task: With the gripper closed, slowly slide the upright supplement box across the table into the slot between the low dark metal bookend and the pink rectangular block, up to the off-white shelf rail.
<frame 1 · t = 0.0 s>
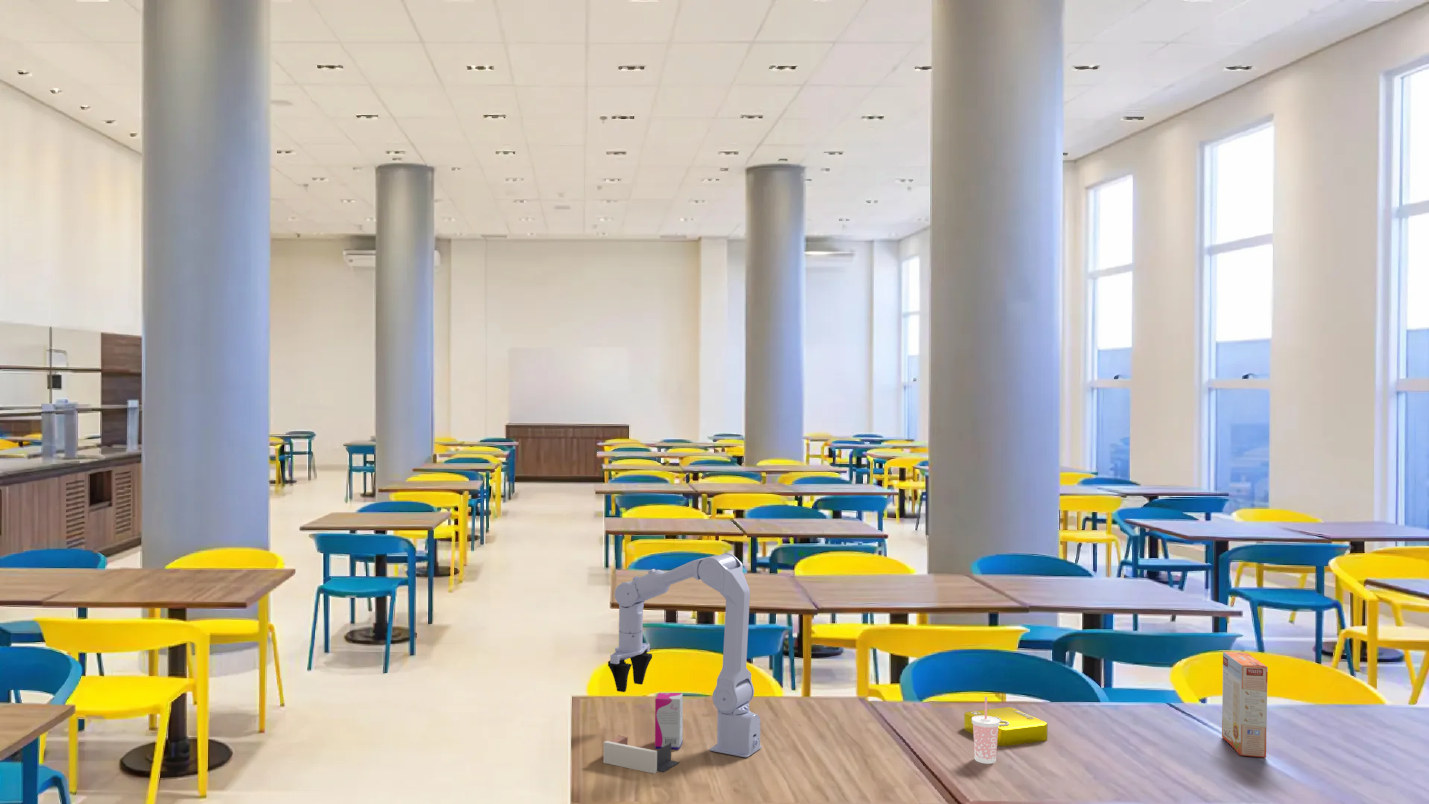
hand: (630, 687, 240), 10 cm above the table, tool pointing down, fingers open, 7 cm apart
cracker box: (1243, 748, 232), on the table
bookend: (666, 757, 215), on the table
beverage cup: (985, 760, 222), on the table
pink rectangular block: (615, 748, 221), on the table
supplement box: (668, 746, 229), on the table
shelf wall: (629, 756, 214), on the table
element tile: (1005, 736, 240), on the table
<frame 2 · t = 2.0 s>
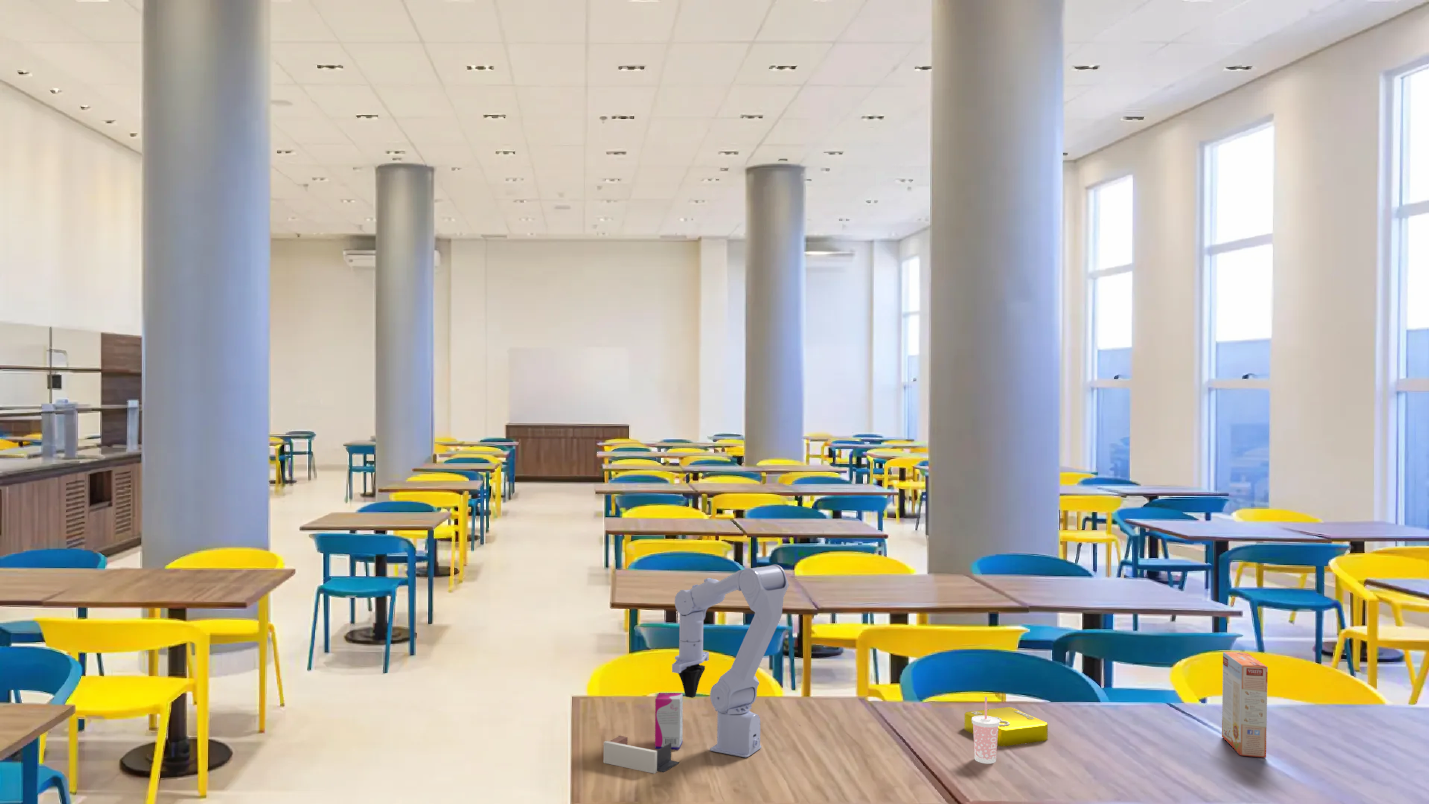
hand: (690, 696, 238), 9 cm above the table, tool pointing down, fingers closed
nothing on the table moved.
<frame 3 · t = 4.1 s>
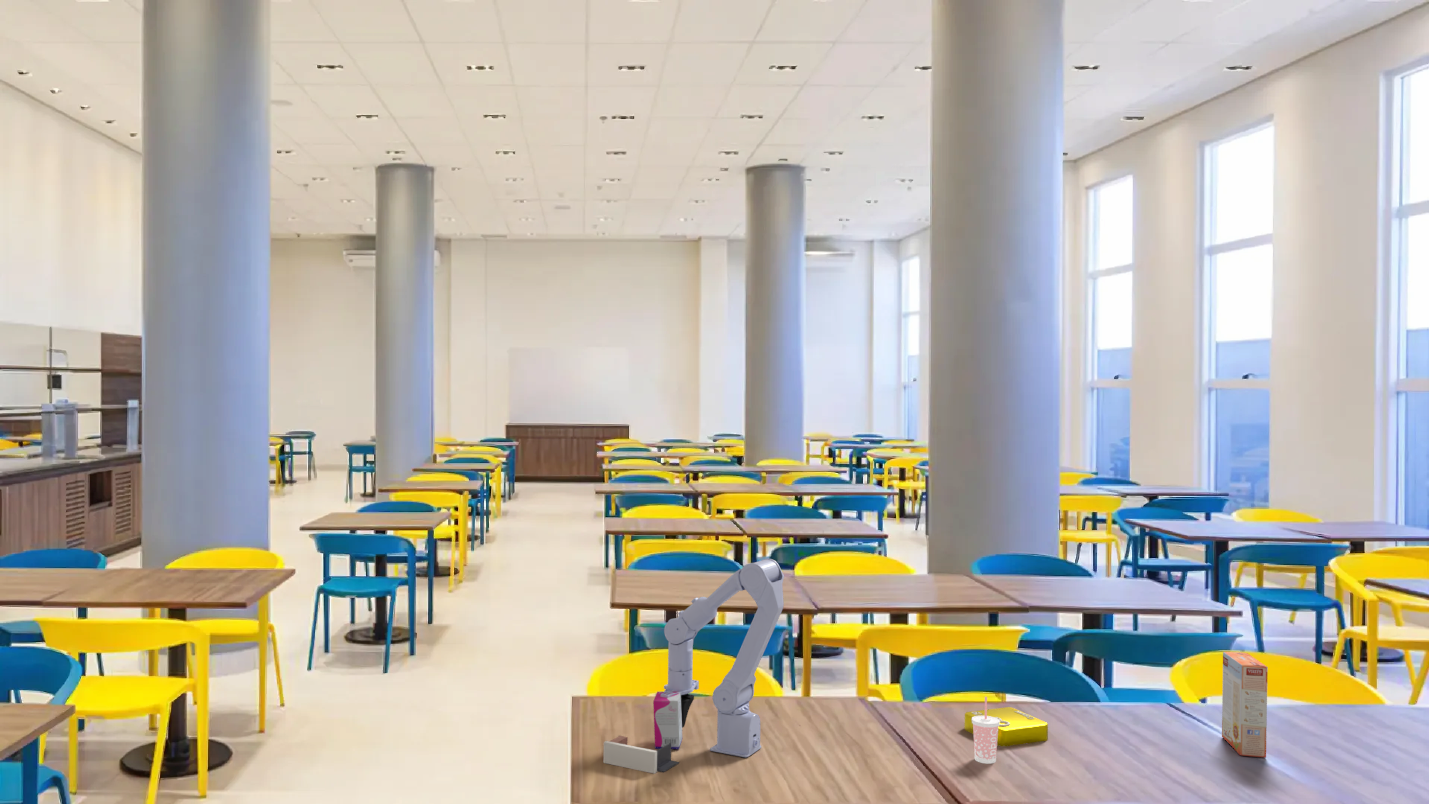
hand: (679, 726, 233), 3 cm above the table, tool pointing down, fingers closed
supplement box: (668, 744, 229), on the table, touching gripper
everything else where it was.
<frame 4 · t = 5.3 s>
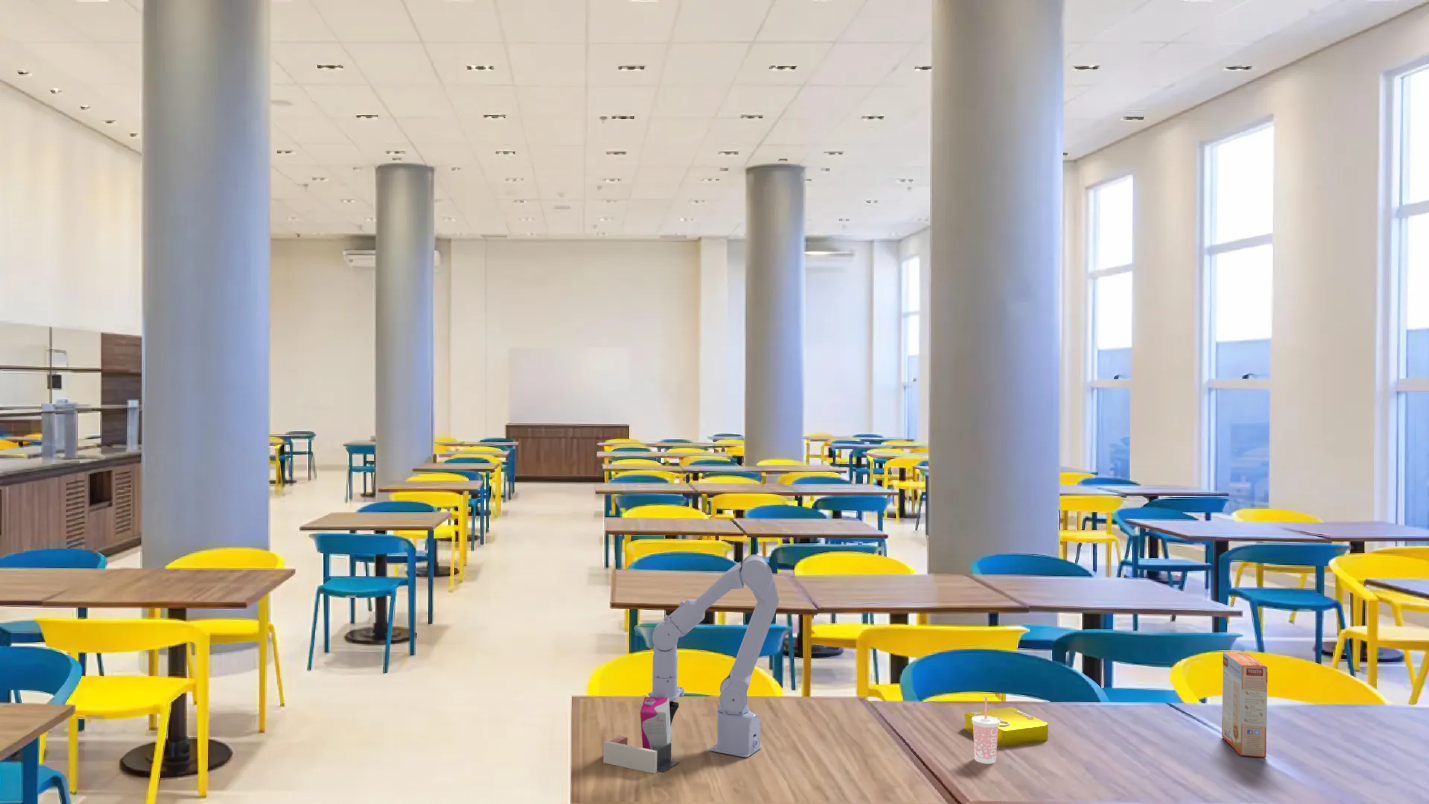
hand: (664, 734, 227), 3 cm above the table, tool pointing down, fingers closed, pressing on supplement box
supplement box: (657, 747, 224), point 1 cm above the table, touching gripper
everything else where it was.
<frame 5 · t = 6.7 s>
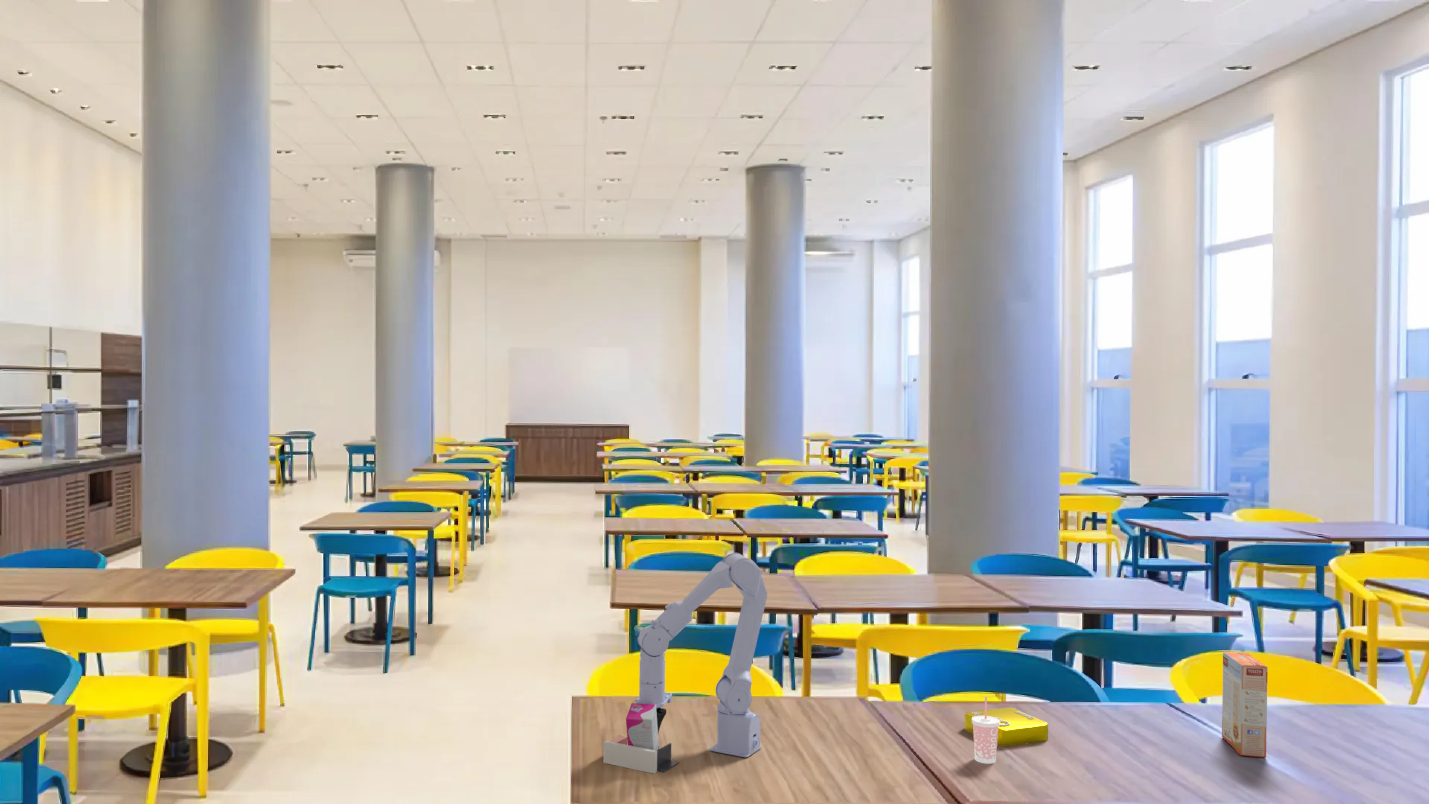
hand: (651, 742, 222), 3 cm above the table, tool pointing down, fingers closed, pressing on supplement box
supplement box: (644, 755, 220), point 1 cm above the table, touching gripper
everything else where it was.
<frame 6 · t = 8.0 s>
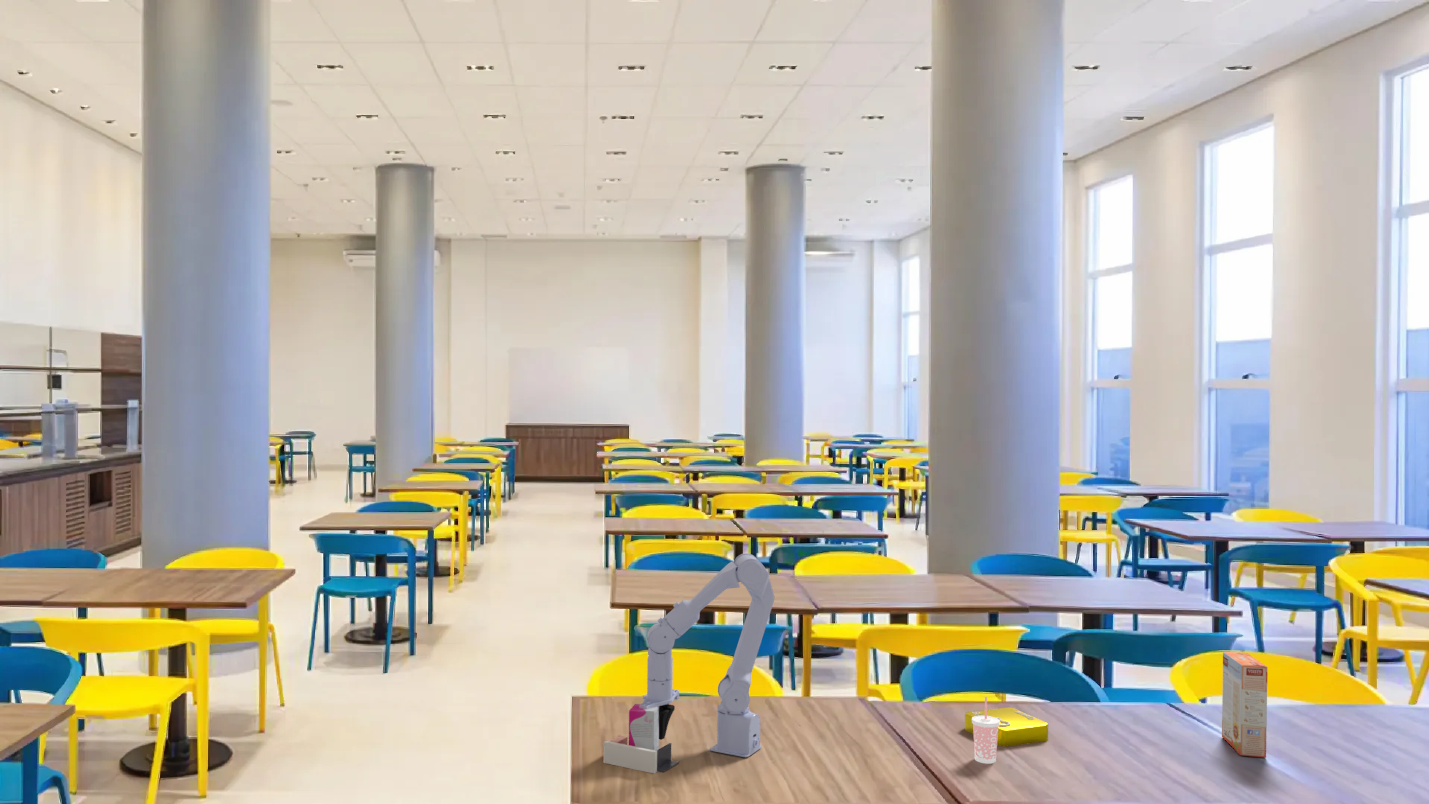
hand: (659, 738, 225), 3 cm above the table, tool pointing down, fingers closed
supplement box: (643, 760, 219), on the table
everything else where it was.
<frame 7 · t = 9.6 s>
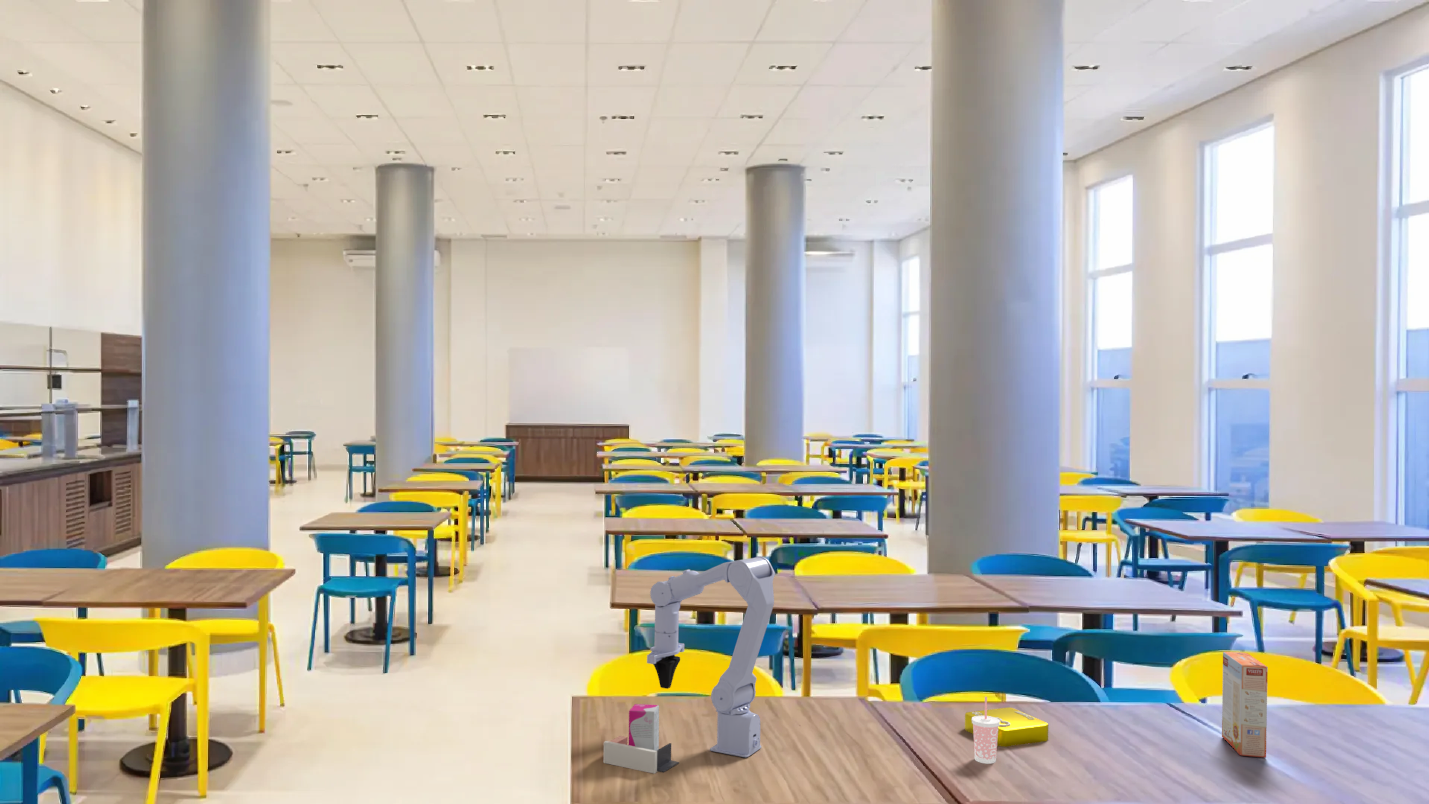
hand: (665, 687, 239), 11 cm above the table, tool pointing down, fingers closed
nothing on the table moved.
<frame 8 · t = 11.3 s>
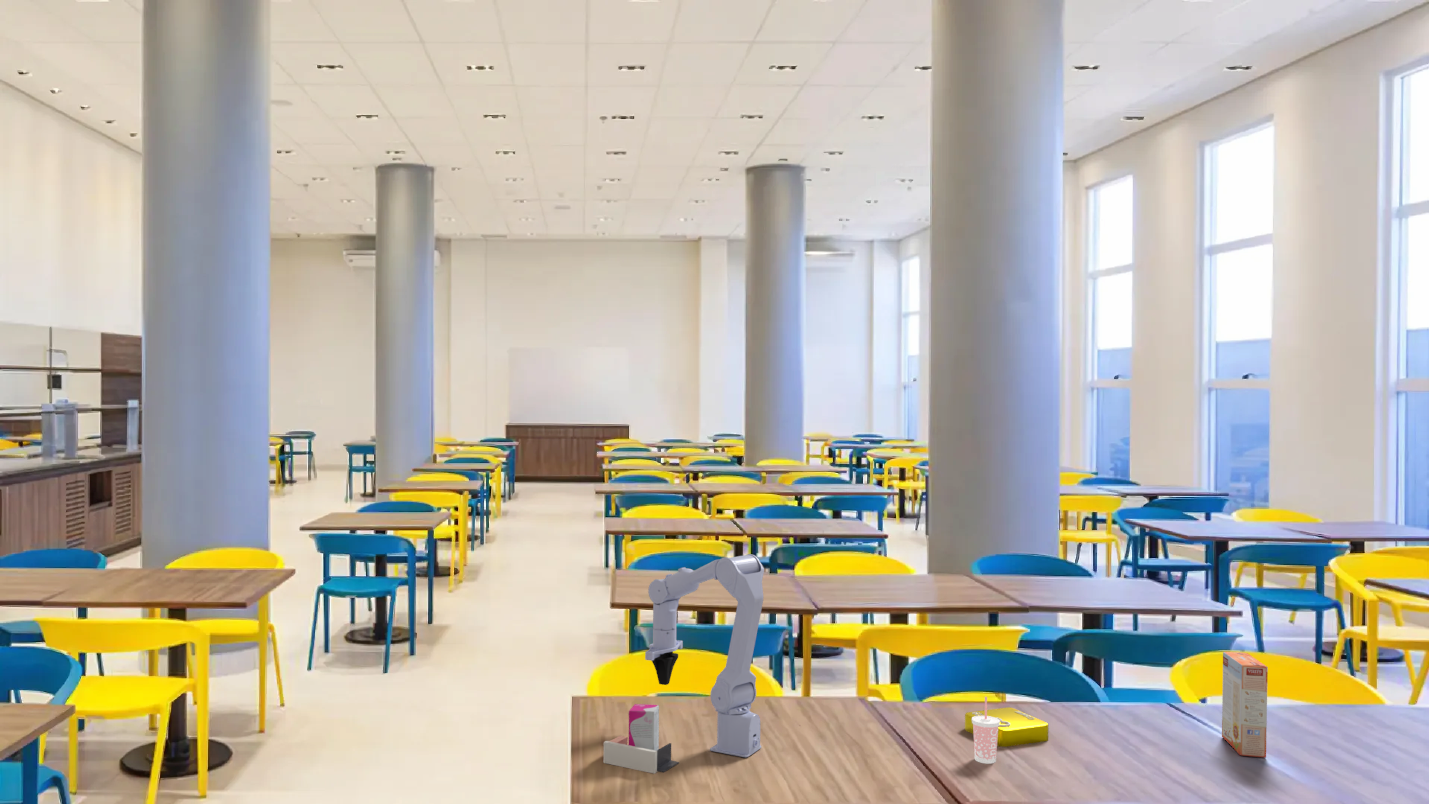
hand: (664, 683, 242), 10 cm above the table, tool pointing down, fingers closed
nothing on the table moved.
at the end: supplement box 0.7 cm from the target spot on the shelf wall, point 0.0 cm above the shelf wall's base; supplement box tilted 0°; the gripper is holding nothing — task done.
